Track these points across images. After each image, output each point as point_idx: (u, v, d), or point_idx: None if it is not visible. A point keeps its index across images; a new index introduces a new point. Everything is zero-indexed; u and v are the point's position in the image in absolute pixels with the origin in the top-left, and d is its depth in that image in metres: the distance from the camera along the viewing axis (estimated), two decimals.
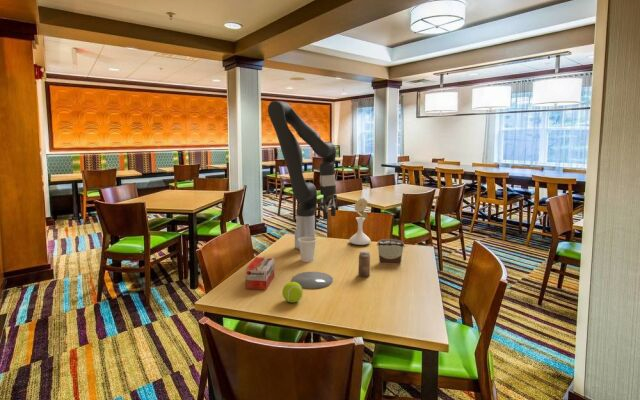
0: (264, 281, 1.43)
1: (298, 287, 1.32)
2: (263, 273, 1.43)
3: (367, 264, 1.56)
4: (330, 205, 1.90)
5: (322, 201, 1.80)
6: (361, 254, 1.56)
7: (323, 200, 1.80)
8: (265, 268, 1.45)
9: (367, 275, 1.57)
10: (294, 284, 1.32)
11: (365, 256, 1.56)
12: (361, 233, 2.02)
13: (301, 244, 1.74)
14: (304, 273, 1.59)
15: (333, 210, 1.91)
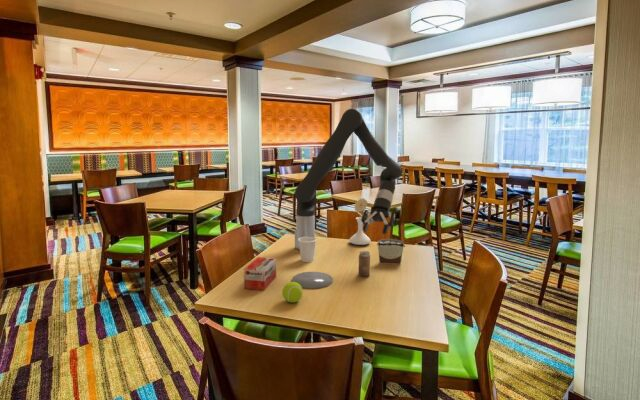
0: (262, 281, 1.43)
1: (298, 287, 1.32)
2: (261, 274, 1.42)
3: (367, 264, 1.56)
4: (370, 220, 1.70)
5: (394, 216, 1.68)
6: (361, 254, 1.56)
7: (394, 216, 1.69)
8: (264, 268, 1.45)
9: (367, 275, 1.57)
10: (294, 284, 1.32)
11: (365, 256, 1.56)
12: (361, 233, 2.02)
13: (301, 244, 1.74)
14: (304, 273, 1.59)
15: (367, 226, 1.70)
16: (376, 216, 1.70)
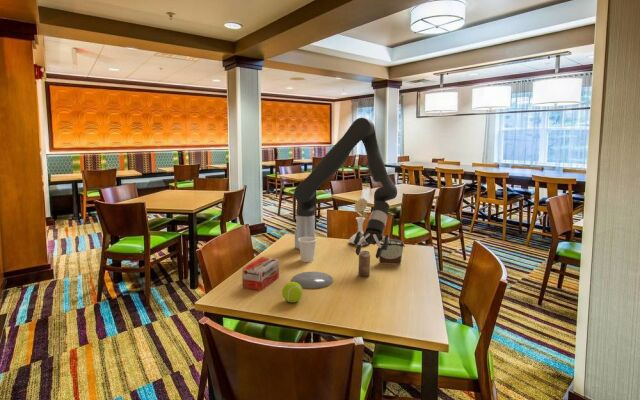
0: (259, 282, 1.42)
1: (298, 287, 1.32)
2: (258, 274, 1.42)
3: (367, 264, 1.56)
4: (362, 242, 1.64)
5: (388, 239, 1.62)
6: (361, 254, 1.56)
7: (388, 239, 1.62)
8: (262, 269, 1.44)
9: (367, 275, 1.57)
10: (294, 284, 1.32)
11: (365, 256, 1.56)
12: None
13: (301, 244, 1.74)
14: (304, 273, 1.59)
15: (360, 249, 1.64)
16: (369, 238, 1.63)
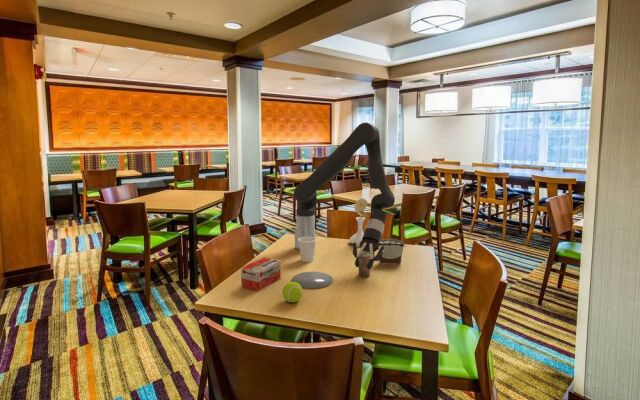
0: (256, 282, 1.42)
1: (298, 287, 1.32)
2: (256, 274, 1.42)
3: (367, 264, 1.56)
4: None
5: (383, 251, 1.58)
6: (361, 254, 1.56)
7: (384, 251, 1.59)
8: (260, 269, 1.44)
9: (367, 275, 1.57)
10: (294, 284, 1.32)
11: (365, 256, 1.56)
12: (361, 233, 2.02)
13: (301, 244, 1.74)
14: (304, 273, 1.59)
15: None
16: (367, 247, 1.60)
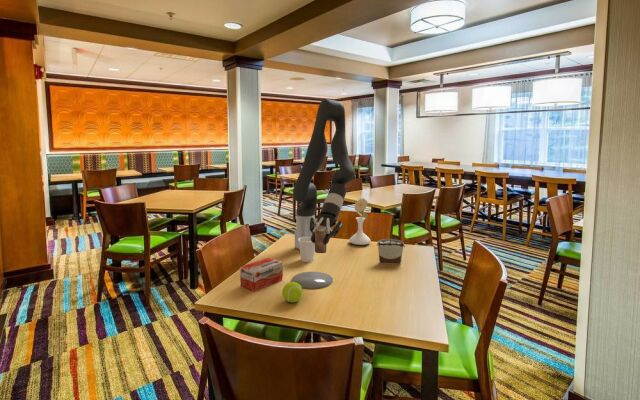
0: (252, 282, 1.42)
1: (298, 287, 1.32)
2: (252, 274, 1.42)
3: (323, 239, 1.49)
4: None
5: (340, 226, 1.52)
6: (317, 228, 1.49)
7: (341, 226, 1.52)
8: (257, 269, 1.44)
9: (323, 251, 1.50)
10: (294, 284, 1.32)
11: (321, 230, 1.49)
12: (361, 233, 2.02)
13: (301, 244, 1.74)
14: (304, 273, 1.59)
15: None
16: (324, 222, 1.53)
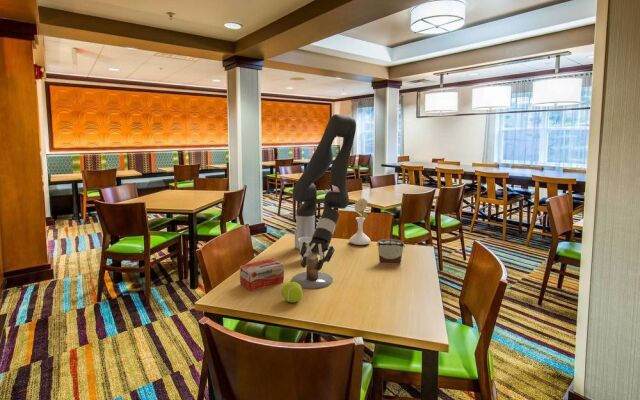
0: (248, 281, 1.43)
1: (298, 287, 1.32)
2: (248, 274, 1.42)
3: (314, 267, 1.50)
4: None
5: (332, 251, 1.52)
6: (308, 257, 1.50)
7: (333, 250, 1.53)
8: (254, 269, 1.43)
9: (315, 278, 1.51)
10: (294, 284, 1.32)
11: (312, 259, 1.50)
12: (361, 233, 2.02)
13: (301, 244, 1.74)
14: (304, 273, 1.59)
15: None
16: (315, 248, 1.54)
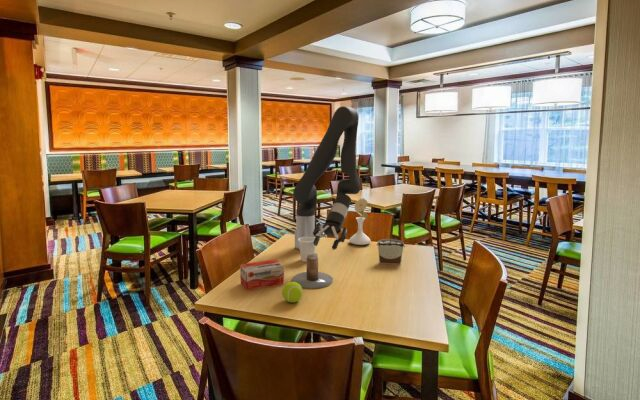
0: (245, 281, 1.43)
1: (298, 287, 1.32)
2: (245, 273, 1.43)
3: (315, 267, 1.50)
4: (321, 234, 1.67)
5: (346, 232, 1.65)
6: (308, 256, 1.50)
7: (346, 231, 1.65)
8: (251, 269, 1.44)
9: (315, 278, 1.51)
10: (294, 284, 1.32)
11: (312, 258, 1.50)
12: (361, 233, 2.02)
13: (301, 244, 1.74)
14: (304, 273, 1.59)
15: (318, 240, 1.67)
16: (328, 230, 1.66)
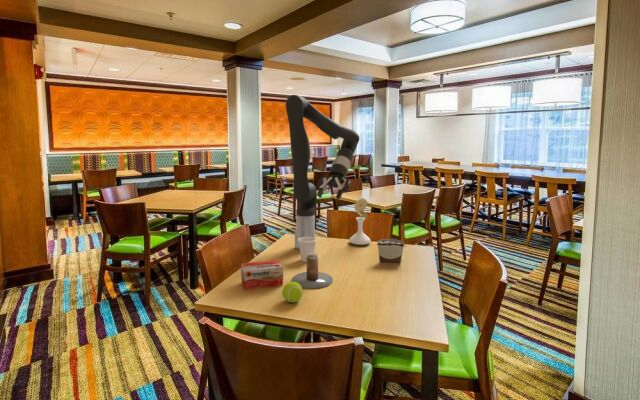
0: (243, 280, 1.44)
1: (298, 287, 1.32)
2: (243, 272, 1.43)
3: (315, 267, 1.50)
4: (325, 185, 1.68)
5: (349, 182, 1.66)
6: (308, 256, 1.50)
7: (350, 182, 1.67)
8: (249, 269, 1.44)
9: (315, 278, 1.51)
10: (294, 284, 1.32)
11: (312, 259, 1.50)
12: (361, 233, 2.02)
13: (301, 244, 1.74)
14: (304, 273, 1.59)
15: (322, 192, 1.68)
16: (331, 182, 1.68)
